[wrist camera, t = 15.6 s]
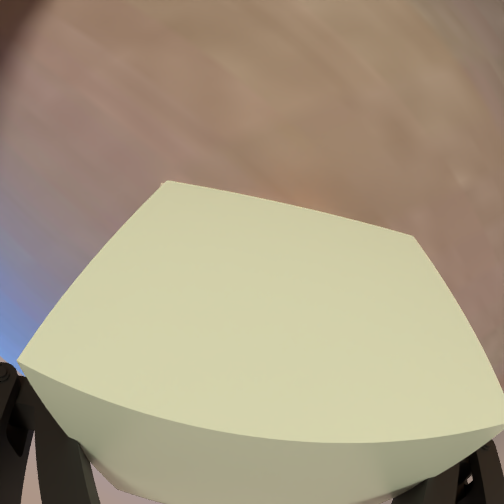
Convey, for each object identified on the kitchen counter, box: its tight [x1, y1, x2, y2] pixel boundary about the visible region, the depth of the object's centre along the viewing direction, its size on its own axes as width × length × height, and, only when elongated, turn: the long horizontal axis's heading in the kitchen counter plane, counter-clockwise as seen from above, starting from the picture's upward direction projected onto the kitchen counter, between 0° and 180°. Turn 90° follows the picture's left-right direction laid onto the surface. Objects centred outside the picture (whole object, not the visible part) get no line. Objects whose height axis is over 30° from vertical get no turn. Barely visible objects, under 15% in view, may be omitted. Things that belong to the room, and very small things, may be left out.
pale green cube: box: [17, 180, 504, 504], centre depth 10 cm, size 10×10×9 cm
